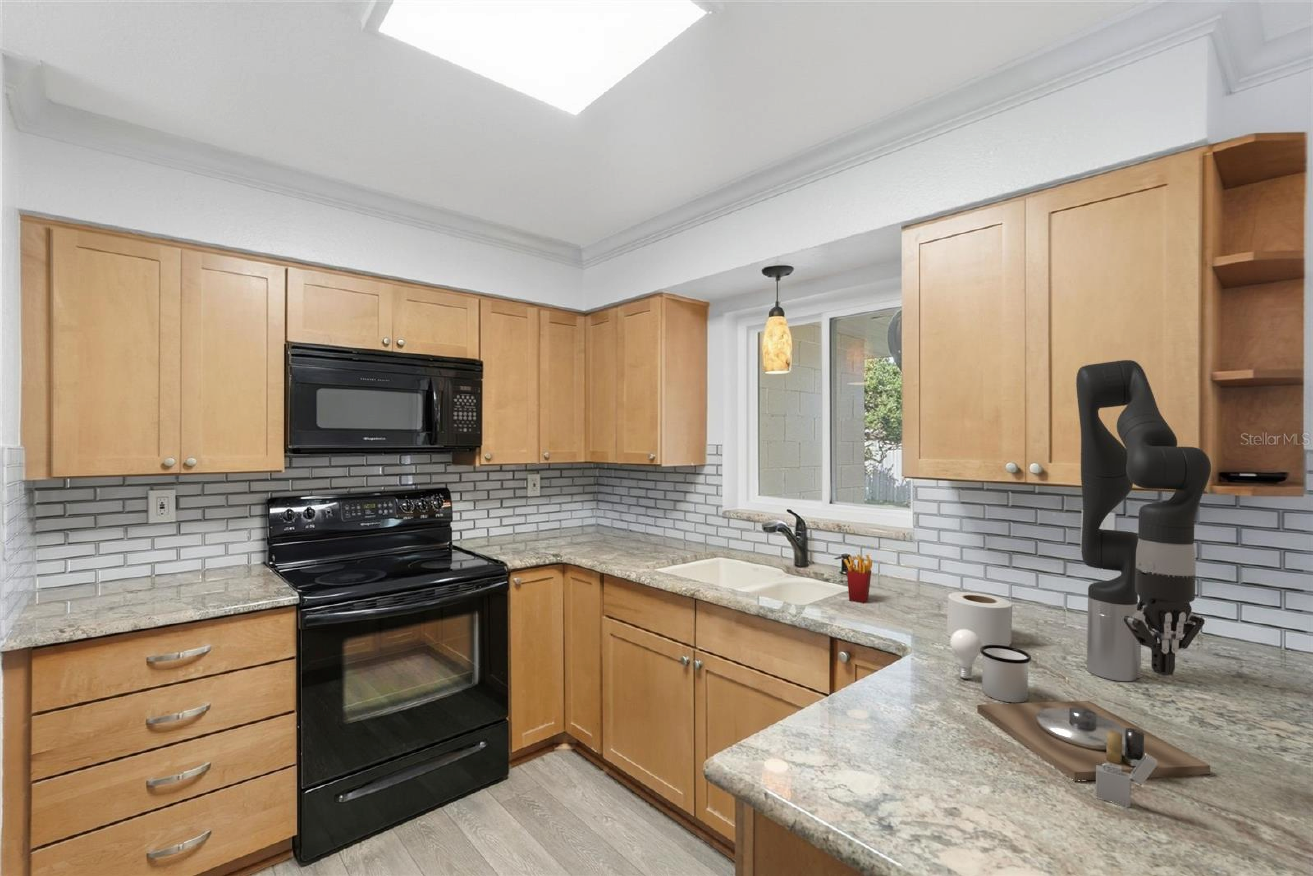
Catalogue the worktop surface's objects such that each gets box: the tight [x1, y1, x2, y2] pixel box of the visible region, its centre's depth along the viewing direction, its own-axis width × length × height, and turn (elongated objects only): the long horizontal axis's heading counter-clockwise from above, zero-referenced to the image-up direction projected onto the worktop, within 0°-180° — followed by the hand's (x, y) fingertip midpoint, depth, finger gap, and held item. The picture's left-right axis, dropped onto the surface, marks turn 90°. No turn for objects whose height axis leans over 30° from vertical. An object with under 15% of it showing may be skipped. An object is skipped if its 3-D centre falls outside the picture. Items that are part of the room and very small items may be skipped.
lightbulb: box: [949, 629, 982, 680], centre depth 136 cm, size 6×6×11 cm
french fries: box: [843, 554, 873, 604], centre depth 202 cm, size 9×8×15 cm
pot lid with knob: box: [1037, 707, 1144, 766], centre depth 107 cm, size 19×14×5 cm
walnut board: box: [976, 700, 1211, 782], centre depth 109 cm, size 24×24×6 cm
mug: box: [980, 645, 1032, 704], centre depth 129 cm, size 12×10×9 cm
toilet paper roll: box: [946, 591, 1013, 647], centre depth 165 cm, size 16×15×11 cm
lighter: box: [1095, 753, 1158, 808], centre depth 90 cm, size 7×2×8 cm, turn 55°
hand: (1162, 673), depth 100 cm, fingers closed
